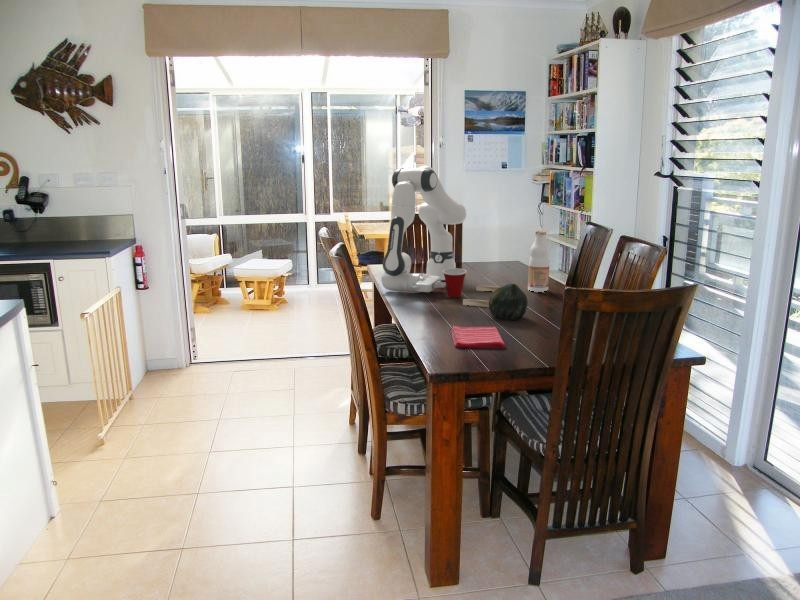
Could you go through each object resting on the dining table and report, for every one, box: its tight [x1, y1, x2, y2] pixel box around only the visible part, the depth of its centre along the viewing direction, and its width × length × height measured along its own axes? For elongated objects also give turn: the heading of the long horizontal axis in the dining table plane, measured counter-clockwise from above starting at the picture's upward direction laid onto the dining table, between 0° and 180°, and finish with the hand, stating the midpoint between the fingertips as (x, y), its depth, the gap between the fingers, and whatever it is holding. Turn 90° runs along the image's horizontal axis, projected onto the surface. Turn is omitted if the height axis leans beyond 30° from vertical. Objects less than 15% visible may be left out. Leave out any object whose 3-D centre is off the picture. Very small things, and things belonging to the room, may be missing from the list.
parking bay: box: [462, 284, 501, 308], centre depth 285 cm, size 31×18×2 cm, turn 162°
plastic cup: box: [443, 267, 467, 298], centre depth 289 cm, size 11×11×12 cm
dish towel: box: [451, 325, 506, 349], centre depth 225 cm, size 17×24×3 cm
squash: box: [488, 283, 529, 321], centre depth 251 cm, size 14×15×15 cm
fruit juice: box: [527, 230, 551, 293], centre depth 299 cm, size 9×9×28 cm
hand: (445, 285), depth 290 cm, fingers closed
